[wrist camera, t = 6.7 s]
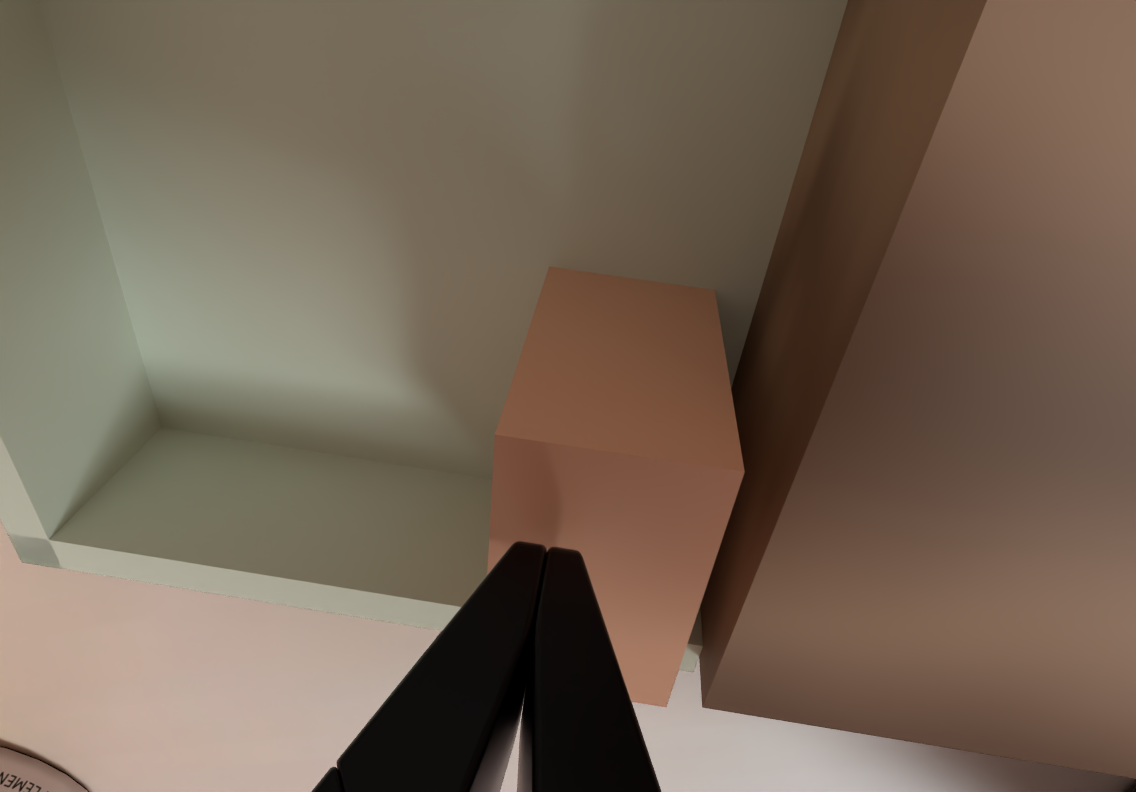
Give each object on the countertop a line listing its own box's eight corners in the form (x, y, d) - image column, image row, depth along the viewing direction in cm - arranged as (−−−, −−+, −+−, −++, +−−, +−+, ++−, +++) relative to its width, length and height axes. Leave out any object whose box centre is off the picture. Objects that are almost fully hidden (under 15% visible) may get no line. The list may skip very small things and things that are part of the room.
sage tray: (685, 520, 16) (693, 671, 13) (149, 435, 16) (22, 562, 13) (971, -446, 8) (1216, -742, 4) (-162, -584, 8) (-754, -958, 5)
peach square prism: (666, 707, 11) (481, 677, 11) (663, 495, 15) (529, 474, 15) (744, 472, 8) (495, 434, 8) (715, 290, 12) (549, 266, 12)
